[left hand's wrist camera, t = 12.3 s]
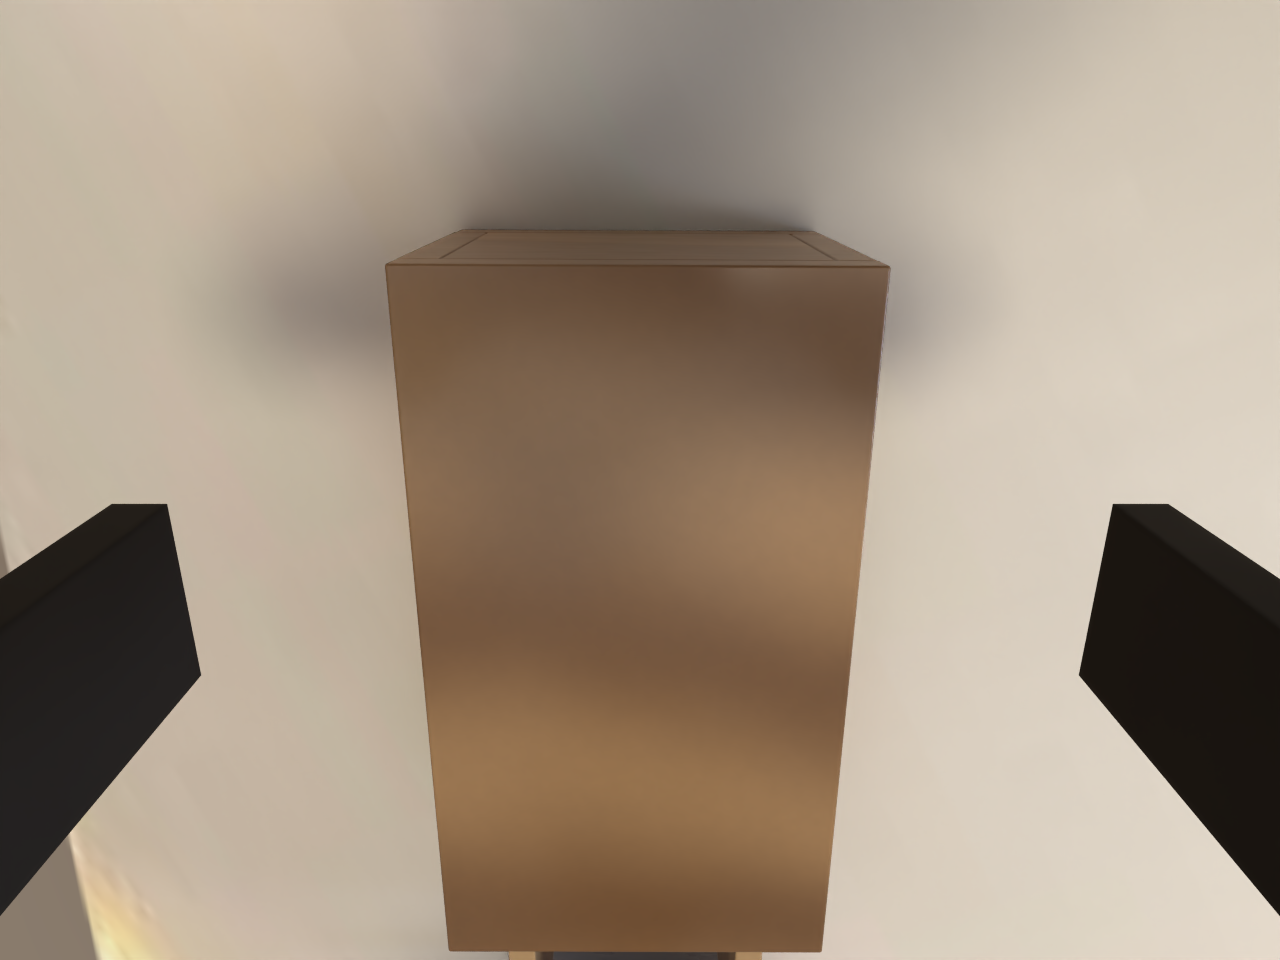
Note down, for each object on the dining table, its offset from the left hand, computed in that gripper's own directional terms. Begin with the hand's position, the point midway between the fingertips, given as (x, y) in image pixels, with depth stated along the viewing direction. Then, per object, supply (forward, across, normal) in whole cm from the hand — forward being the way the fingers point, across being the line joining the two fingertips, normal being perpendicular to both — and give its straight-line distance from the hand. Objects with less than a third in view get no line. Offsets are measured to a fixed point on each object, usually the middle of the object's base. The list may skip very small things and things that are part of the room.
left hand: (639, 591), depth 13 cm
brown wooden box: (+15, 0, -6) cm, 16 cm away
